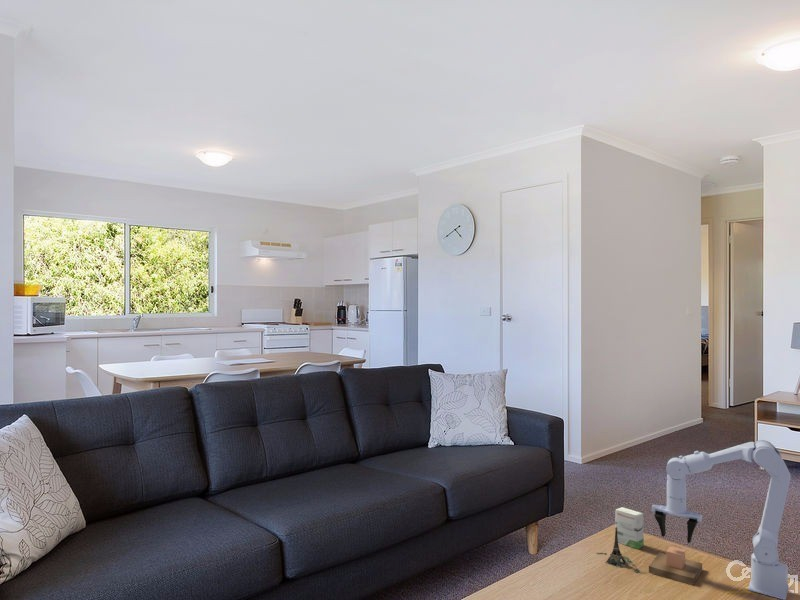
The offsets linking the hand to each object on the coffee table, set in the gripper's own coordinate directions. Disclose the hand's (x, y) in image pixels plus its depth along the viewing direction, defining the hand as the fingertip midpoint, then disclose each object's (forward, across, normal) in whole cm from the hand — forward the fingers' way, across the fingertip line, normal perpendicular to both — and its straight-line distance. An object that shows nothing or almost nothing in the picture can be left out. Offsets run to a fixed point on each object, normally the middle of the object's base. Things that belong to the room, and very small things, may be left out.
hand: (676, 538), depth 185 cm
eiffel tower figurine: (+11, +16, +6) cm, 21 cm away
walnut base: (+10, 0, 0) cm, 10 cm away
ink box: (+11, +18, -12) cm, 24 cm away
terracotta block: (+8, 0, 0) cm, 8 cm away
